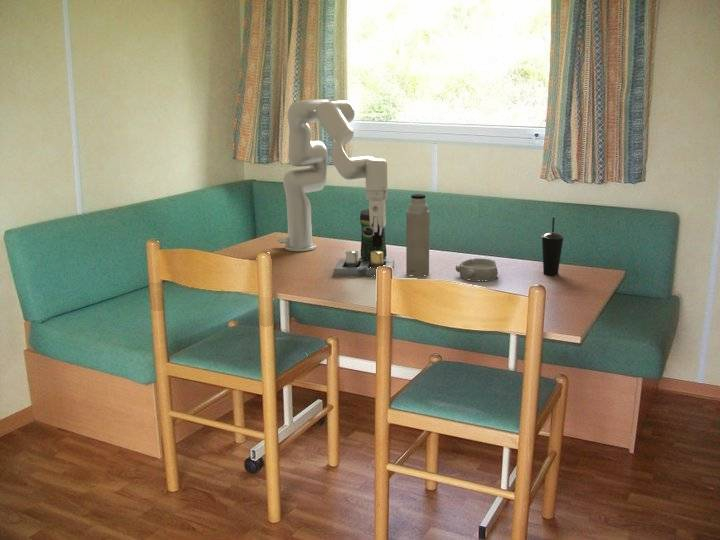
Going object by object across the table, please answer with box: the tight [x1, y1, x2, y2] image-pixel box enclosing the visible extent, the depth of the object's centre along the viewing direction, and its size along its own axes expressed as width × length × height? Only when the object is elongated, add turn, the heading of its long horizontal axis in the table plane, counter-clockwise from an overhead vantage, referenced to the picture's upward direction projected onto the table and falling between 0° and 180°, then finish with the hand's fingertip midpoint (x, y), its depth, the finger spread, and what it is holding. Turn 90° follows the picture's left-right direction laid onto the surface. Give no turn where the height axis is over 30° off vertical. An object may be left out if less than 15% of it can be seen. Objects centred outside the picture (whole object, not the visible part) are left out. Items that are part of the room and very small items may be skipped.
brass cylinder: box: [371, 251, 384, 268], centre depth 274 cm, size 4×4×7 cm
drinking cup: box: [540, 217, 565, 277], centre depth 265 cm, size 8×8×20 cm
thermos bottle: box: [405, 193, 431, 277], centre depth 267 cm, size 8×8×28 cm
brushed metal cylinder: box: [345, 249, 359, 268], centre depth 275 cm, size 4×4×7 cm
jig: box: [333, 258, 395, 277], centre depth 275 cm, size 20×14×2 cm
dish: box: [455, 257, 499, 282], centre depth 266 cm, size 14×14×5 cm
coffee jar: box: [359, 208, 387, 260], centre depth 291 cm, size 10×8×19 cm
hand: (377, 246), depth 272 cm, fingers closed
